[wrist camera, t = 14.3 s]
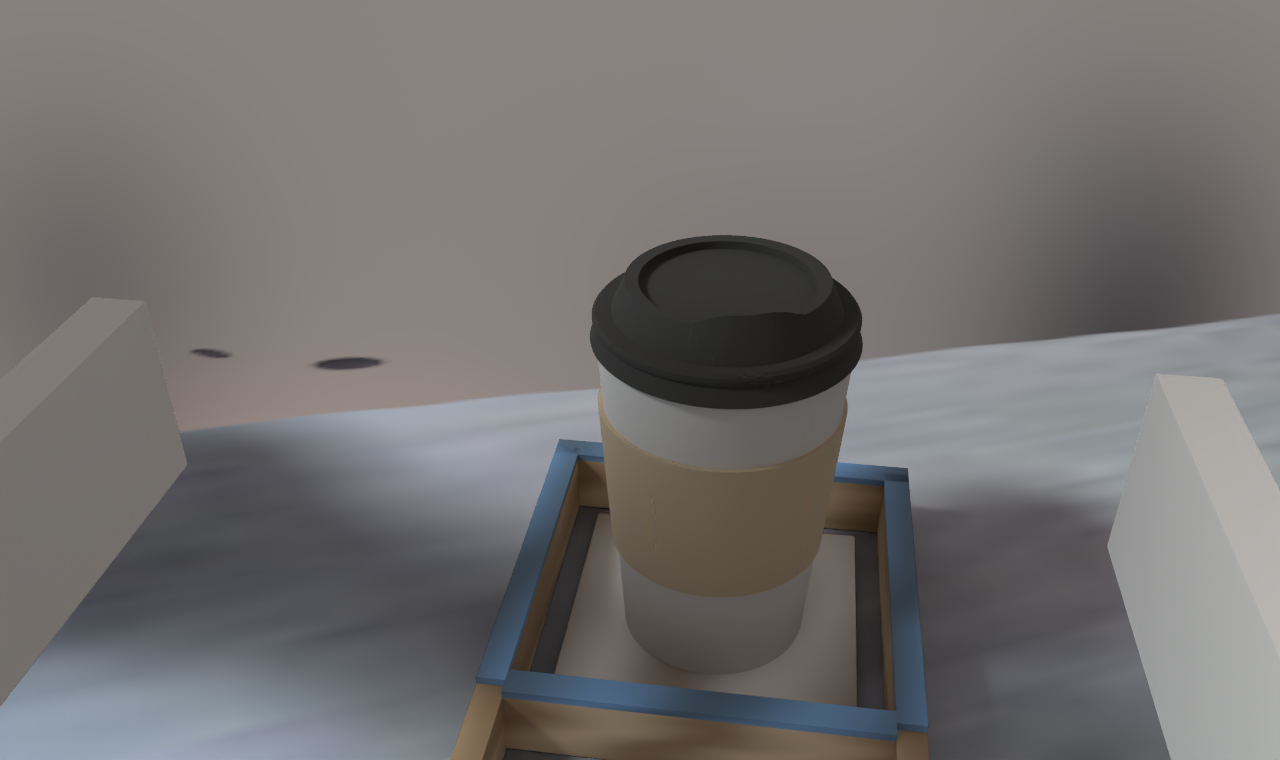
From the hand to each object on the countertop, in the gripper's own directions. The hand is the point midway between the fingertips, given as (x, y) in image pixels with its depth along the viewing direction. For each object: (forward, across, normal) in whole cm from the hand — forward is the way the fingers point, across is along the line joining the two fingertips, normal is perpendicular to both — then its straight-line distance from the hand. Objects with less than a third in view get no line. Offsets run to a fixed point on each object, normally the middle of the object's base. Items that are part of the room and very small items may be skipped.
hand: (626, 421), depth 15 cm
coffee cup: (+21, 0, -24) cm, 32 cm away
